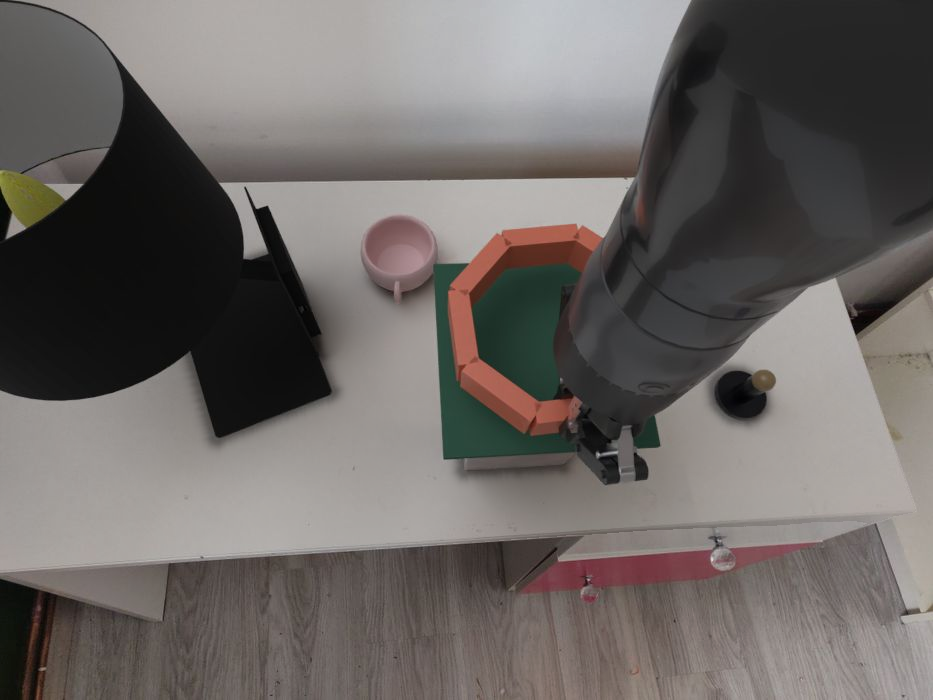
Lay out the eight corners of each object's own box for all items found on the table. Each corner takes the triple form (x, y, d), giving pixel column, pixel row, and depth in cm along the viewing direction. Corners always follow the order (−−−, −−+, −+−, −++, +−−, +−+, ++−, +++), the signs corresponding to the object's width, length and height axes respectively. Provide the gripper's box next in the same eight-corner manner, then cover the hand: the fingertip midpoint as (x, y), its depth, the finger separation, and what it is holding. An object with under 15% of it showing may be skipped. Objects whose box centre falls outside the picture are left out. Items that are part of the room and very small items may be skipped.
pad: (622, 261, 55) (624, 257, 54) (658, 447, 48) (661, 446, 47) (433, 267, 53) (433, 263, 53) (443, 459, 47) (443, 458, 46)
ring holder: (773, 399, 74) (807, 380, 67) (742, 430, 72) (774, 414, 65) (735, 363, 75) (765, 341, 69) (704, 392, 74) (731, 373, 67)
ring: (440, 259, 49) (440, 235, 46) (623, 242, 51) (635, 217, 47) (465, 444, 43) (467, 432, 40) (671, 418, 45) (690, 405, 41)
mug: (367, 235, 80) (362, 210, 74) (438, 238, 80) (438, 212, 75) (360, 313, 75) (355, 292, 70) (436, 315, 76) (436, 294, 70)
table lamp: (348, 401, 71) (253, 201, 34) (113, 495, 65) (-311, 379, 28) (285, 238, 79) (153, -66, 42) (71, 309, 73) (-298, 30, 36)
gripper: (769, 451, 25) (639, 503, 41) (684, 194, 30) (597, 330, 46) (603, 472, 24) (536, 517, 40) (544, 205, 29) (506, 339, 45)
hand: (569, 417), depth 43 cm, fingers closed on ring
